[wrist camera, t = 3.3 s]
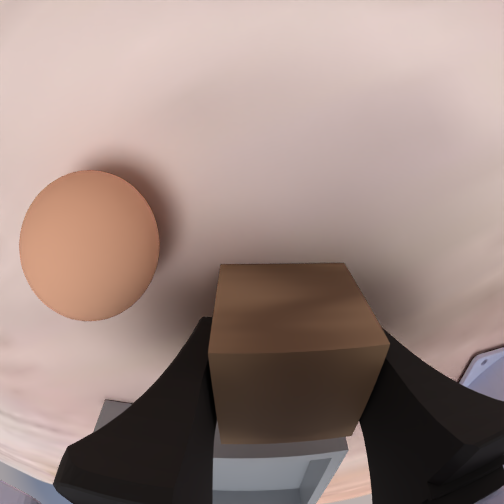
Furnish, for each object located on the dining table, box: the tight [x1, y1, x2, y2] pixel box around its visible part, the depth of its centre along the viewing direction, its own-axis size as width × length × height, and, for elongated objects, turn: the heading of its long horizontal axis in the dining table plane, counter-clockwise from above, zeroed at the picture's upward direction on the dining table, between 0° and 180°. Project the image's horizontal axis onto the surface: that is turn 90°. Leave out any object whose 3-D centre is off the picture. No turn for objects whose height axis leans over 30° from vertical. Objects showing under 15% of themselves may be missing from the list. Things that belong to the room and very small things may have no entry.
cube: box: [208, 263, 390, 444], centre depth 10 cm, size 4×4×4 cm
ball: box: [19, 170, 160, 321], centre depth 8 cm, size 4×4×4 cm
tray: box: [93, 400, 349, 504], centre depth 16 cm, size 13×13×3 cm
